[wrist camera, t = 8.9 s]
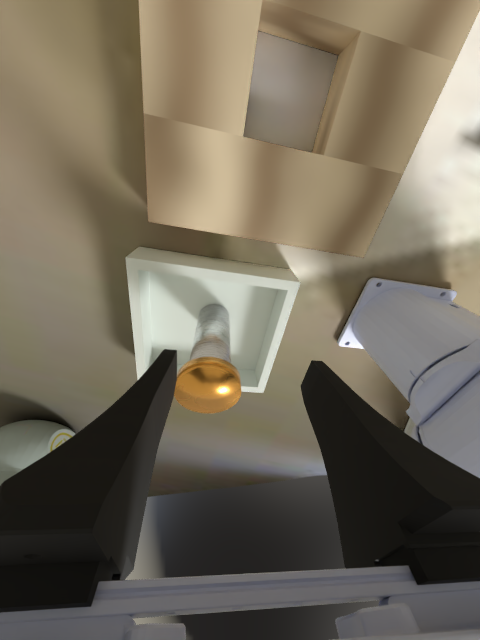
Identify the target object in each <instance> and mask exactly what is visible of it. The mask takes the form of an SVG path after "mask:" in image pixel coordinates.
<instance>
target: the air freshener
mask: <svg viewBox="0 0 480 640" xmlns="http://www.w3.org/2000/svg"><path fill="white" fill-rule="evenodd" d="M74 435H75V433H74V432H73V431H72V430H71V429H70V428H68V427H66V426H63V425H61V424H58V423H55V422H51V421H45V420H25V421H18V422H14V423H10V424H7V425H5V426H2V427H0V485H1V484H2V483H3V482H4V481H5V480H7V479H8V478H10V477H12V476H13V475H15V474H16V473H18V472H20V471H21V470H23V469H24V468H26V467H28V466H29V465H31V464H32V463H34V462H36V461H37V460H39V459H40V458H42V457H44V456H45V455H47V454H48V453H50V452H51V451H53V450H54V449H56V448H57V447H58V446H60V445H61V444H63V443H64V442H65V441H67V440H68V439H70V438H71V437H73V436H74Z"/></svg>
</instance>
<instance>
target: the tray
mask: <svg viewBox="0 0 480 640" xmlns="http://www.w3.org/2000/svg"><path fill="white" fill-rule="evenodd" d="M125 259H126V269H127V278H128V288H129V298H130V308H131V318H132V328H133V338H134V348H135V358H136V368H137V378H138V380H139V378H140V377H141V376H142V375H143V374H144V373H145V372H146V371H147V369H148V368H149V367H150V366H151V365H152V364H153V362H154V361H155V360H156V359H157V357H158V356H159V355H160V353H161V352H162V351H163V350H164V349H170V350H177V374H178V371H179V369H180V368H181V367H182V366H183V365H184V364H185V363H187V362H189V361H190V356H191V351H192V346H193V341H194V336H195V331H196V325H197V320H198V315H199V312H200V310H201V309H202V308H203V307H204V306H206V305H208V304H219V305H222V306H223V307H225V308H226V309H227V311H228V312H229V316H230V349H231V364H232V365H234V366H235V367H236V369H237V370H238V372H239V374H240V380H241V391H243V392H258V393H263V392H264V389H265V386H266V383H267V380H268V377H269V374H270V371H271V368H272V366H273V363H274V360H275V357H276V354H277V351H278V348H279V345H280V342H281V339H282V336H283V333H284V330H285V327H286V324H287V321H288V318H289V315H290V312H291V309H292V306H293V303H294V300H295V297H296V294H297V291H298V289H299V286H300V283H301V282H300V281H299V280H298V278H297V277H296V276H295V274H294V273H293V272H292V270H291V269H285V268H278V267H271V266H265V265H258V264H252V263H245V262H238V261H232V260H225V259H219V258H212V257H206V256H199V255H192V254H186V253H179V252H173V251H166V250H159V249H153V248H146V247H140V246H139V247H138V248H137V249H135V250H134V251H133V252H131V253H130V254H129V255H128V256H126V257H125Z"/></svg>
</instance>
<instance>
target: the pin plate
mask: <svg viewBox="0 0 480 640" xmlns="http://www.w3.org/2000/svg"><path fill="white" fill-rule="evenodd" d="M479 10H480V0H139V20H140V43H141V67H142V90H143V114H144V137H145V160H146V184H147V207H148V222H153V223H159V224H164V225H170V226H176V227H182V228H188V229H194V230H200V231H206V232H212V233H218V234H224V235H230V236H236V237H242V238H248V239H254V240H260V241H266V242H272V243H278V244H284V245H290V246H296V247H302V248H307V249H313V250H319V251H325V252H331V253H337V254H343V255H349V256H355V257H361V258H364V256H365V254H366V252H367V250H368V247H369V245H370V243H371V241H372V239H373V237H374V235H375V232H376V230H377V228H378V226H379V224H380V222H381V220H382V218H383V215H384V213H385V211H386V209H387V207H388V205H389V203H390V200H391V198H392V196H393V194H394V192H395V190H396V188H397V186H398V183H399V181H400V179H401V177H402V175H403V173H404V171H405V168H406V166H407V164H408V162H409V160H410V158H411V156H412V154H413V151H414V149H415V147H416V145H417V143H418V141H419V139H420V136H421V134H422V132H423V130H424V128H425V126H426V124H427V121H428V119H429V117H430V115H431V113H432V111H433V109H434V107H435V104H436V102H437V100H438V98H439V96H440V94H441V92H442V89H443V87H444V85H445V83H446V81H447V79H448V77H449V75H450V72H451V70H452V68H453V66H454V64H455V62H456V60H457V57H458V55H459V53H460V51H461V49H462V47H463V45H464V43H465V40H466V38H467V36H468V34H469V32H470V30H471V28H472V25H473V23H474V21H475V19H476V17H477V15H478V13H479ZM258 31H262V32H265V33H268V34H271V35H275V36H278V37H281V38H284V39H288V40H291V41H294V42H297V43H300V44H304V45H307V46H310V47H313V48H317V49H320V50H323V51H326V52H330V53H333V54H336V55H339V56H338V59H337V63H336V67H335V70H334V74H333V78H332V81H331V85H330V89H329V92H328V96H327V99H326V103H325V107H324V110H323V114H322V118H321V121H320V125H319V128H318V132H317V136H316V139H315V143H314V147H313V150H312V153H311V152H307V151H303V150H298V149H294V148H290V147H286V146H281V145H277V144H273V143H268V142H264V141H260V140H256V139H251V138H247V137H243V134H244V127H245V120H246V113H247V106H248V99H249V91H250V84H251V77H252V70H253V63H254V56H255V49H256V41H257V34H258Z"/></svg>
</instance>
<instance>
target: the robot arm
mask: <svg viewBox="0 0 480 640" xmlns="http://www.w3.org/2000/svg"><path fill="white" fill-rule="evenodd" d="M377 283H379V284H378V285H377V286H376V284H377ZM456 294H457V292H456V291H454V290H452V289H445V288H439V287H432V286H426V285H419V284H413V283H406V282H400V281H393V280H387V279H381V278H371V279H369V280H368V282H367V284H366V286H365V287H364V289H363V291H362V293H361V295H360V297H359V299H358V301H357V303H356V305H355V307H354V309H353V311H352V313H351V315H350V317H349V319H348V321H347V323H346V325H345V327H344V329H343V331H342V333H341V335H340V337H339V339H338V341H337V343H338V345H339V346H342V347H352V348H362V349H365V350H366V351H367V353H368V354H369V355H370V356H371V357H372V359H373V360H374V361H375V362H376V363H377V365H378V366H379V367H380V368H381V369H382V371H383V372H384V373H385V374H386V375H387V377H388V378H389V379H390V380H391V381H392V383H393V384H394V385H395V386H396V387H397V389H398V390H399V391H400V392H401V393H402V395H403V396H404V397H405V398H406V399H407V401H408V402H409V403H410V407H409V408H408V410H407V411H406V413H407V414H408V415H409V417H410V418H411V419H412V421H413V422H414V423H415V424H416V425H415V426H414V427H413V429H412V432H411V437H410V436H409V435H407V434H406V433H405V432H403V431H402V430H400V429H399V428H398V427H396V426H395V425H394V424H392V423H391V422H390V421H388V420H387V419H386V418H384V417H383V416H382V415H381V414H379V413H378V412H377V411H376V410H374V409H373V408H372V407H371V406H370V405H369V404H367V403H366V402H365V401H364V400H363V399H362V398H361V397H359V396H358V395H357V394H356V393H355V392H354V391H353V390H352V389H351V388H350V387H349V386H348V385H347V384H346V383H345V382H343V381H342V380H341V379H340V378H339V377H338V376H337V375H336V374H335V373H334V372H333V371H332V370H331V369H330V368H329V367H328V366H327V365H326V364H325V363H324V362H322V361H311V363H310V366H309V368H308V370H307V373H306V375H305V377H304V380H303V382H302V384H301V391H302V396H303V400H304V404H305V407H306V410H307V413H308V416H309V418H310V421H311V424H312V427H313V429H314V432H315V435H316V438H317V440H318V443H319V446H320V449H321V452H322V456H323V460H324V464H325V468H326V471H327V475H328V480H329V484H330V488H331V493H332V497H333V502H334V507H335V512H336V516H337V522H338V528H339V534H340V540H341V545H342V551H343V558H344V564H345V567H346V569H331V570H313V571H293V572H274V573H256V574H255V573H254V574H235V575H217V576H197V577H179V578H178V577H177V578H159V579H141V580H140V579H139V580H125V579H126V577H127V576H128V575H129V574H130V573H131V572H132V570H133V569H134V562H135V558H136V552H137V547H138V542H139V537H140V531H141V526H142V521H143V516H144V511H145V506H146V501H147V496H148V491H149V486H150V482H151V477H152V472H153V467H154V463H155V458H156V454H157V449H158V446H159V442H160V439H161V435H162V432H163V429H164V426H165V423H166V419H167V416H168V413H169V410H170V407H171V403H172V400H173V396H174V391H175V386H176V381H177V350H170V349H164V350H163V351H162V352H161V353H160V355H159V356H158V357H157V359H156V360H155V361H154V362H153V364H152V365H151V366H150V367H149V368H148V369H147V371H146V372H145V373H144V374H143V375H142V376H141V377H140V378H139V380H138V381H137V382H136V383H135V384H134V385H133V386H132V387H131V388H130V389H129V390H128V391H127V392H126V393H125V394H124V395H123V396H122V397H121V398H120V399H118V400H117V401H116V402H115V403H114V404H113V405H112V406H111V407H110V408H108V409H107V410H106V411H105V412H104V413H102V414H101V415H100V416H99V417H98V418H96V419H95V420H94V421H93V422H91V423H90V424H89V425H87V426H86V427H85V428H84V429H82V430H81V431H80V432H78V433H77V434H75V435H74V436H73V437H71V438H70V439H68V440H67V441H65V442H64V443H63V444H61V445H60V446H58V447H57V448H56V449H54V450H53V451H51V452H50V453H48V454H47V455H45V456H44V457H42V458H40V459H39V460H37V461H36V462H34V463H32V464H31V465H29V466H28V467H26V468H24V469H23V470H21V471H20V472H18V473H16V474H15V475H13V476H12V477H10V478H8V479H7V480H5V481H4V482H3V483H2V484H1V485H0V640H186V634H185V629H186V628H185V626H184V624H139V625H136V623H135V621H134V620H133V619H132V618H145V617H159V616H172V615H186V614H199V613H213V612H225V611H226V612H227V611H239V610H254V609H267V608H281V607H293V606H308V605H320V604H321V605H322V604H335V603H349V602H363V601H376V600H380V602H379V606H378V607H371V608H365V609H360V610H358V611H357V612H355V613H352V614H350V615H347V616H343V617H339V618H336V622H335V623H336V627H337V630H338V635H339V639H334V640H480V316H478V315H476V314H474V313H472V312H471V311H469V310H467V309H465V308H463V307H461V306H459V305H457V304H456V303H454V302H452V300H453V299H454V298H455V296H456ZM346 342H347V343H346Z"/></svg>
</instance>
